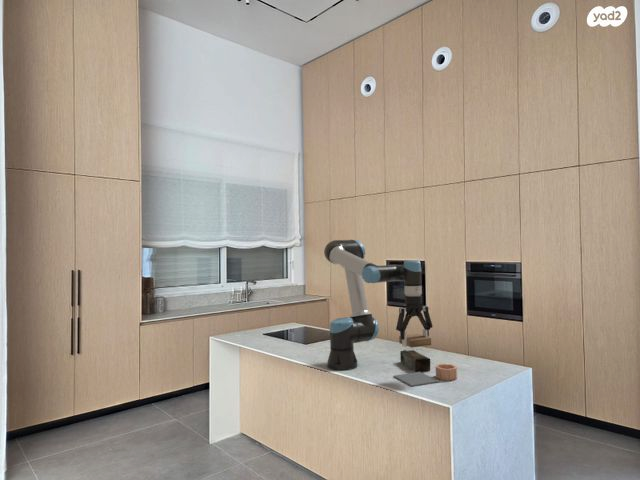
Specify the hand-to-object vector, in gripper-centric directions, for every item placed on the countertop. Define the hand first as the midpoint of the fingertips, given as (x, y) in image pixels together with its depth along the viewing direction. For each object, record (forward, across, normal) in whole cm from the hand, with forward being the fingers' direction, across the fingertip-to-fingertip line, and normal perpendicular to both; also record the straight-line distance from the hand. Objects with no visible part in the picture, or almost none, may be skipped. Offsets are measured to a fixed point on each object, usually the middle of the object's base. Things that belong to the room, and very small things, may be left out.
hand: (415, 345), depth 189 cm
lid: (-1, 0, 0) cm, 1 cm away
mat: (+15, 0, 0) cm, 15 cm away
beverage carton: (+16, +11, +18) cm, 26 cm away
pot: (+15, +14, -3) cm, 21 cm away
